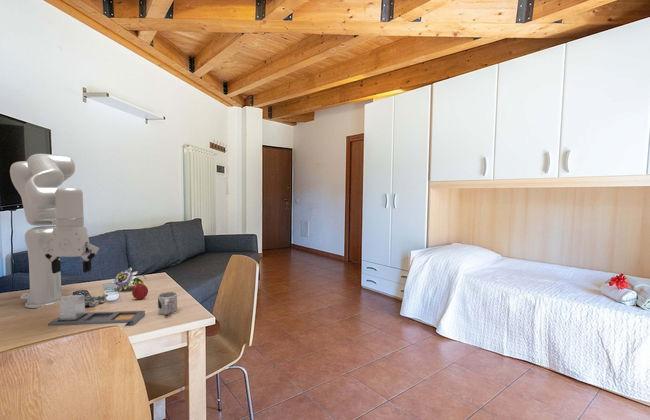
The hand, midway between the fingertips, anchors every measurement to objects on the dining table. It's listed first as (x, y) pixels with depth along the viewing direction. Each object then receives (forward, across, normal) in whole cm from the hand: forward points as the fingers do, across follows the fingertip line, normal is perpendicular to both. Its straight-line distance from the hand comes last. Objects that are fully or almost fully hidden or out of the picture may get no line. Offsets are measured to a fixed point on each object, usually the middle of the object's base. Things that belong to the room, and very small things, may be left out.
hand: (71, 272), depth 109 cm
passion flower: (+18, +1, +38) cm, 43 cm away
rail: (+18, +8, 0) cm, 20 cm away
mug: (+19, +29, +6) cm, 35 cm away
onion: (+18, +13, +22) cm, 31 cm away
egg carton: (+18, -4, +17) cm, 26 cm away
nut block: (+17, 0, 0) cm, 17 cm away
